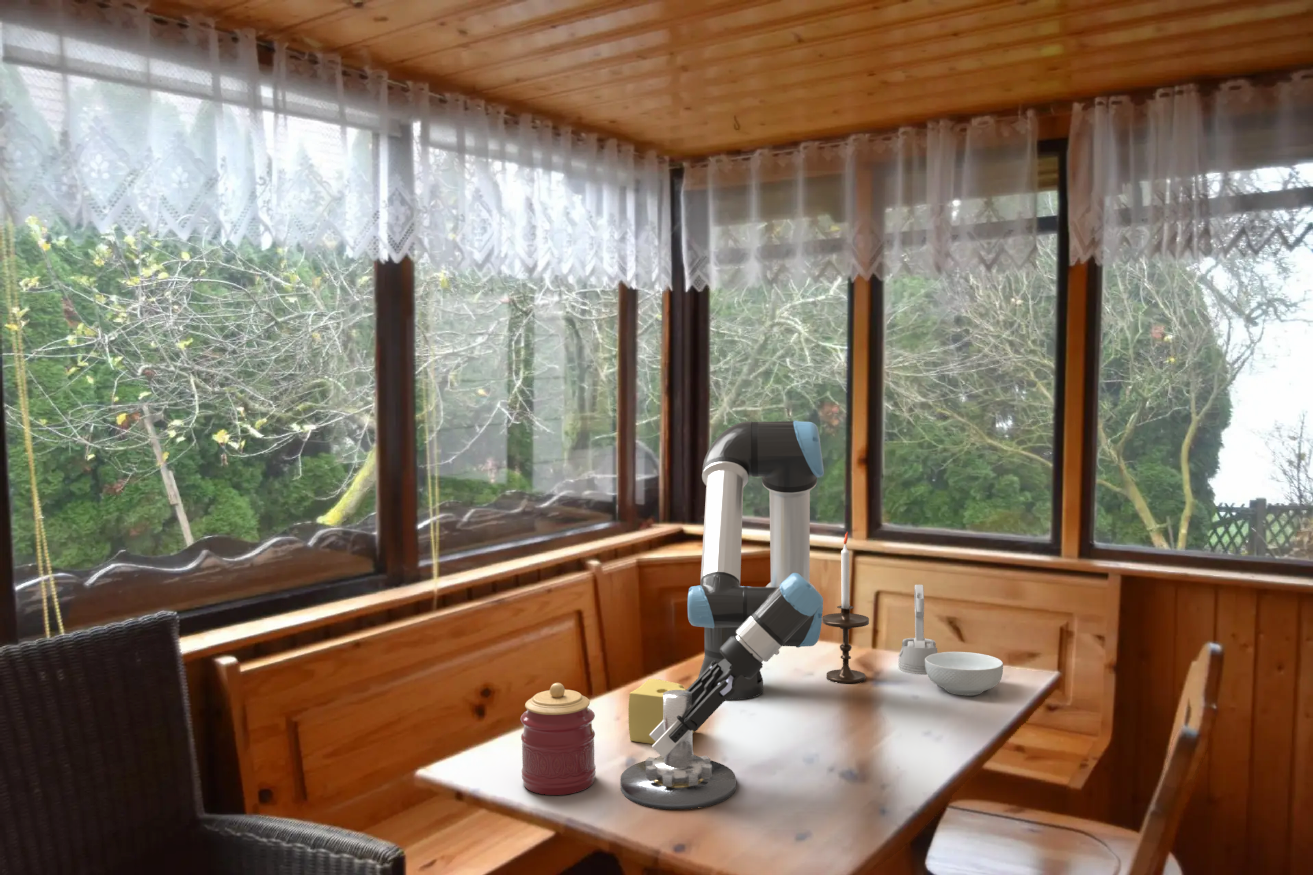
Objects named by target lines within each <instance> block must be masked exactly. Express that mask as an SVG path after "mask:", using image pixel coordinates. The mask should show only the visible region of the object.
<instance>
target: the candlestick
mask: <svg viewBox="0 0 1313 875" xmlns="http://www.w3.org/2000/svg"><path fill="white" fill-rule="evenodd" d="M848 534H849V532H848V531H846V533H845V534H844V540H843V547H842V548H843V549H842V550H841V552H840V555H841V556H840V559H841V560H840V561H841V563H840V565H841V568H840V569H841V572H840V573H841V574H840V575H841V576H840V577H841V578H840V580H841V583H840V584H841V587H840V588H841V592H840V593H841V594H840V596H841V605H838V606H836V609H837V608H838V609H840V612H838V613H828V614H825V615H822V624H823V625H826V626H829V627H833V628H839V629H841V630H842V644H840V645H839V649H840V652H842V655H840V659H842V666H841V668H839V669H832V670H830V671H827V672H826V680H827V681H829V680H830V681H829V682H831V683H832V682H833V683H835V682H837V684H841V685H842V684H845V685H854V684H859V683H860V682H861V683H863V682H865V681H866V674H865V673H864V672H862V671H860V670H855V669H851V667H850V666H849V664H850V661H849V660H850V659H852V656H851V655H850V652H851V650H852V649H853V647H852V645H851V644H849V639H850V638H849V636H850V635H849V630H851V629H852V628H854V629H855V628H863V627H866V626H869V624H870V618H869V617H868V616H866V615H864V614H860V613H859V614H858V613H851V610H852V609H854V608H855V607H854V606H852V605H850V550H848V547H847V543H848V538H849V537H848ZM864 680H865V681H864Z"/></svg>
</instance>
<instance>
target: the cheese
mask: <svg viewBox="0 0 1313 875" xmlns="http://www.w3.org/2000/svg"><path fill="white" fill-rule="evenodd" d="M687 689H688V688H685V687H684V686H683V684H680V683H677V682H672V681H669V680H668V681H667V680H664V679H658V678H649V679H647V680H646V681H645V682H644V683H643V684H641V685H640V686H639V687H637V688H636V689H634V690H632V691H631V692H629V697H628V707H627V708H628V732H629V739H630V742H635V743H642V744H649V745H653V744H654V743H655V742H656V741H655V740H654V739H653V738H651V737H650V735H649V734H650V733H651V732H652V731H653V730H654V729H655V728H656V727H657V726H658V725H659V724H660V723H661V722H662V721H663V693H664V692H666V691H670V690H685V691H686V690H687ZM694 733H695V732H694V731H693V730H692V735H693V734H694Z"/></svg>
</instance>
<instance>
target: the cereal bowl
mask: <svg viewBox="0 0 1313 875" xmlns="http://www.w3.org/2000/svg"><path fill="white" fill-rule="evenodd" d="M925 669H926V673H927V674H926V675H927V676H928V678H929V680H930V681H931V682H932V683H933V684H935V685H936V686H938V687H941V689H942V688H943V689H945V691H947V692H948V693H950V694H953V695H957V696H958V695H959V696H977V695H980V694H982V693H983V692H984V691H987V690H988V691H989V690H990V689H992V688H994V687H996V686H997V685H999V683H1000V681H1001V680H1002V678H1003V674H1004V672H1003V671H1004V663H1003V661H1002V660H1001V659H1000V658H997V657H995V656H992V655H988V654H983V653H978V652H977V653H976V652H969V651H943V652H938V653H936V654H932V655H929V656H927V657H926V658H925Z"/></svg>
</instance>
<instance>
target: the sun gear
mask: <svg viewBox="0 0 1313 875" xmlns="http://www.w3.org/2000/svg"><path fill="white" fill-rule="evenodd" d="M691 706H692V693H691V692H689V691H685V690H670V691H666V692H664V693H663V727H664V733H665V732H666V731H667V730H668V729H669V728H670V727H671V726H672V724H673V723H674V722H675V721H676V720H677V716H678V715H679V716H681V717H683V716H684V715H685V713H686V712H687V711H688V710H689V708H690V707H691ZM693 744H694V743H693V734H692V731H689V732H688V733H687V734H686V735H685V736H684V737H683V738H682V739H681V740H680V742H679V743H678V744H677V745H676V746H675V747H674V748H673V749H672V750H671V751H670V752H669V753H668V754H667V755H666V756H665V757H664V758H663V757H662V756H661V755H660V754H659V756H657V757H654V756H653V757H652V756H648V757H647V758H646V759H645V761H646V778H647V779H648V780H649V781H654V780H659V781H661V782H663V786H669V787H672V786H673V785H674V784H685V783H686V784H687V785H688V786H693V785H698V780H700V779H710V778H711V777H712V765H711V764H710V760H711V757H709V756H708V755H700V756H699V755H696V754H694V749H693Z"/></svg>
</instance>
